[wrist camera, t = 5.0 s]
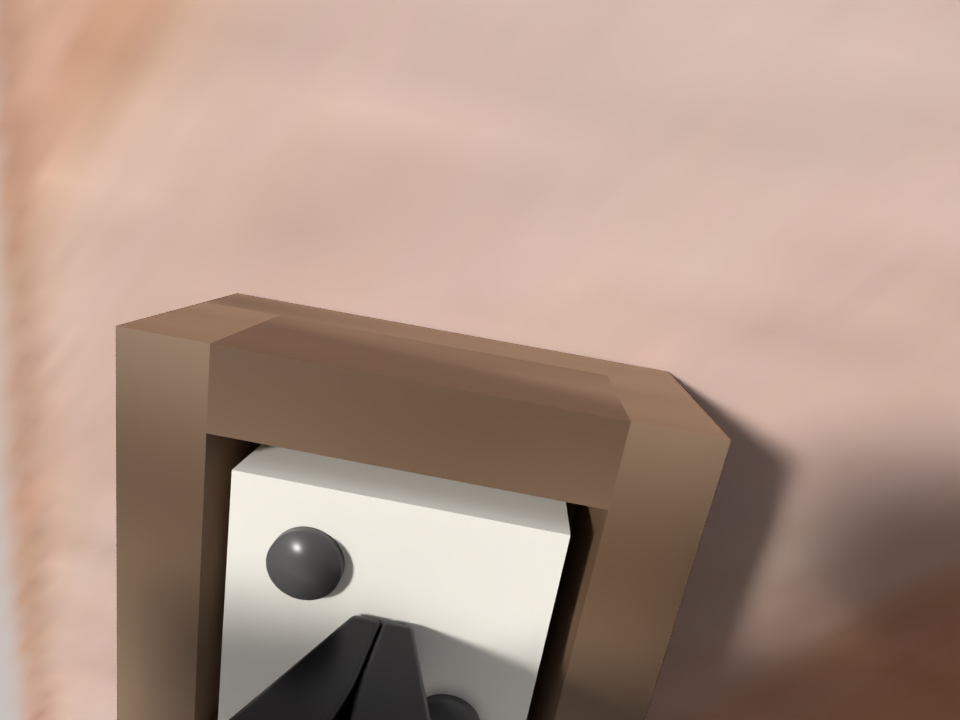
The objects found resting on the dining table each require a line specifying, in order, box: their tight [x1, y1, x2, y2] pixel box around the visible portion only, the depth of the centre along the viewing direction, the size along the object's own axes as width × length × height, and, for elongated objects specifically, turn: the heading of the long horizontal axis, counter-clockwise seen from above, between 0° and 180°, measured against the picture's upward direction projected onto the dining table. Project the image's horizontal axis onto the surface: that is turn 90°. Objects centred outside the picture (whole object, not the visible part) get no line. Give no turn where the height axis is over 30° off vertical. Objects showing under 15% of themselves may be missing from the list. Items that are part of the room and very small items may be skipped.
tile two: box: [218, 444, 571, 720], centre depth 9 cm, size 4×4×2 cm
